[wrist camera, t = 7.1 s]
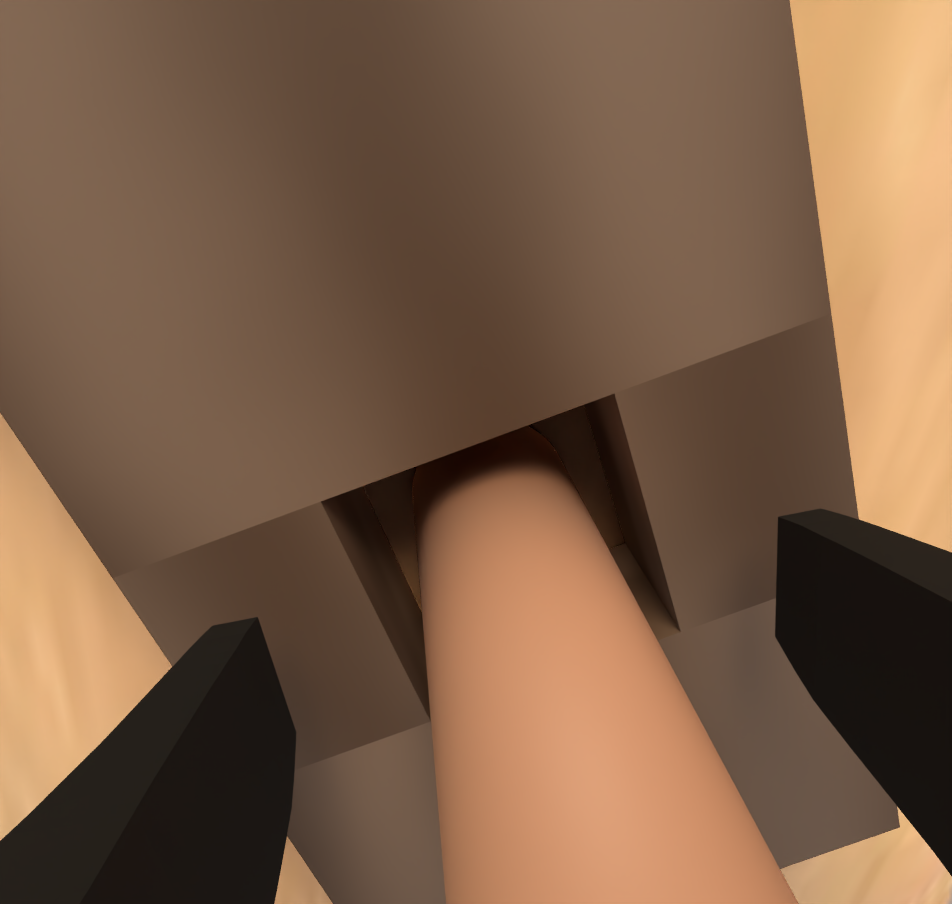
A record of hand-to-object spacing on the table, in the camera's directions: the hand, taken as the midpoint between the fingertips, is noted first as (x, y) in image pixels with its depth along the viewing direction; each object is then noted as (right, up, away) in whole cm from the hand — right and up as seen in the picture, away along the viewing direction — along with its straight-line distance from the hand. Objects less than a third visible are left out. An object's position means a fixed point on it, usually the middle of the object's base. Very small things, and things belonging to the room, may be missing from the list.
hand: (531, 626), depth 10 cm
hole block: (-1, +2, +4) cm, 4 cm away
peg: (-1, +2, +4) cm, 4 cm away
